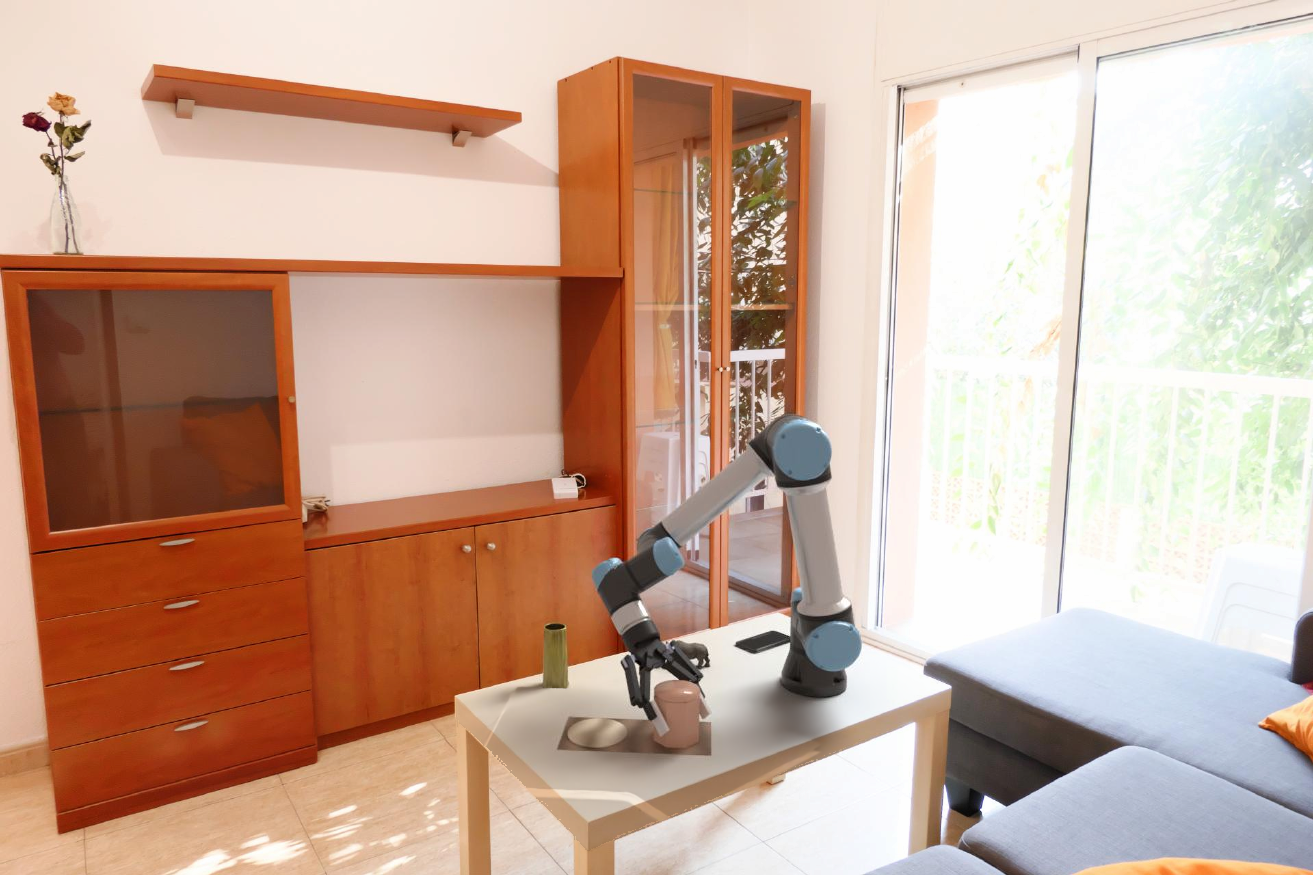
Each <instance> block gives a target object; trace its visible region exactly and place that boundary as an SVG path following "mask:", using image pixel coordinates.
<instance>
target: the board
mask: <svg viewBox="0 0 1313 875" xmlns="http://www.w3.org/2000/svg"><path fill="white" fill-rule="evenodd" d="M594 718H595V717H587V716H586V717H585V716H584V717H583V716H581V717H580V716H568V717H567V720H566V724H565V726H564V729H563V731H562V734H561V736H560V740H559V743H558V746H557V748H556V749H557V750H559V751H560V750H561V751H584V752H585V751H586V752H587V751H588V752H605V753H607V752H609V753H610V752H611V753H634V754H655V755H656V754H658V755H659V754H660V755H661V754H662V755H681V756H682V755H684V756H685V755H687V756H709V757H710V756H712V722H711V721H699V742H698V743H695V744H693V745H691V746H689V747H686V748H671V747H665V746H663V745H661V744H659V743H657V742H656V741H654V723H653V721H650V720H649V719H643V718H641V719H640V718H637V719H636V718H613V717H610V718H608V717H602V718H603V719H611V720H614V721H617V722H619V723H621V724H623V725H624V726H625V727H626V729H627V736H626V738H625V739H624V740H623V741H622V742H620V743H619V744H617V745H614V746H610V747H606V748H586V747H582V746H578V745H576V744H574V743H573V742H571V741H570V740H569V738H568V730H569V728H570V727H571V726H572V725H574V724H575V723H577V722H580V721H583V720H587V719H594Z"/></svg>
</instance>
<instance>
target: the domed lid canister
mask: <svg viewBox="0 0 1313 875" xmlns="http://www.w3.org/2000/svg"><path fill="white" fill-rule="evenodd" d="M653 700H655V702H656V704H657V706H658V708H659V710H660V712H661V714H662V716H663V718H664V720H665V722H666V723H667V725H668V727H669V729H670V730H669V731H668V732H667V733H666V734H665V735H663V736H661V737H660V735H659V733H658V731H657V729H656V727H655V725H654V741H656V742H657V743H659V744H661V745H663V746H665V747H671V748H686V747H689V746H691V745H693V744H695V743H698V742H699V722H700V714H699V703H700V688H699V686H697V685H696V684H694V683H692V682H689V681H684V680H679V679H670V680H664V681H661V682H659V683H657V684H656V685H655V686H654V688H653Z"/></svg>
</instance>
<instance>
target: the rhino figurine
mask: <svg viewBox="0 0 1313 875" xmlns="http://www.w3.org/2000/svg"><path fill="white" fill-rule="evenodd" d="M675 641H676V642H677V644H678V646H679V648H680V650H681V651H682V652H683V653H684V654H685V655H686V656H687V657H688V658H689V660H690V661H692V660H695V659H696V660H697V662H698V663H697V665H695V666H696V667H697V668H698V669H699V670H702V669H703V665H704V667H705V668H710V667H711V663H710V662H711V659H710V657H709V655H710V654H709V651H708V650H709V649H708V648H707V646H706V645H704V643H698V642H691V643H690V642H689V643H688V642H685V641H683V640H680V639H679V640H675ZM668 643H669V642H668V641H667V640H666V641H665V644H668ZM666 653H667V651H666ZM669 655H670V654H669ZM704 662H705V663H704Z"/></svg>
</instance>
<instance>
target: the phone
mask: <svg viewBox="0 0 1313 875" xmlns="http://www.w3.org/2000/svg"><path fill="white" fill-rule="evenodd" d="M786 644H787V645H788V644H790V635H787V634H785V633H782V632H780V631H777V630H769V631H766V632H763V633H759V634H756V635H752V636H750V637H747V638H744V639H741V640H740V639H739V640H738V641H736V642H735V647H736V648H739V649H742V650H744V651H746V652H749V653H751V654H761V653H764V652H765V651H769V650H772V649H775V648H778V647H781V646H785V645H786Z"/></svg>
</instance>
